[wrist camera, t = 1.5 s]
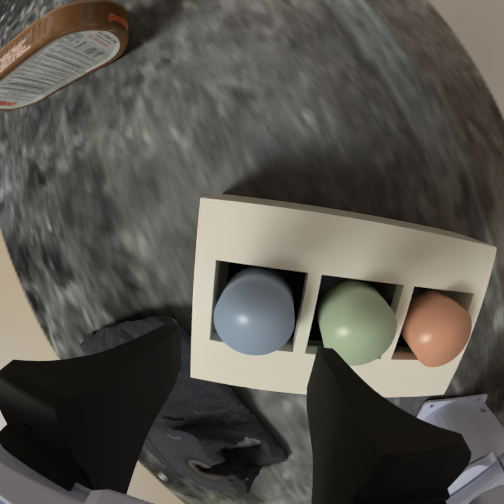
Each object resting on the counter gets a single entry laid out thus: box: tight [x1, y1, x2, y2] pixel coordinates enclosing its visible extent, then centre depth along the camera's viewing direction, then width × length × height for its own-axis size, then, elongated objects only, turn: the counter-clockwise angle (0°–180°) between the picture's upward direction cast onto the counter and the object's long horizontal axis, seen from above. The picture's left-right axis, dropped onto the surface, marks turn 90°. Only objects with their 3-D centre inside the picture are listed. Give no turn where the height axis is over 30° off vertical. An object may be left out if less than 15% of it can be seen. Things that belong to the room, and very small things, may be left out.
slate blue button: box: [214, 267, 295, 355], centre depth 16 cm, size 4×4×3 cm
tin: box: [0, 0, 129, 111], centre depth 15 cm, size 15×3×8 cm, turn 100°
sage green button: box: [317, 280, 397, 366], centre depth 15 cm, size 4×4×3 cm
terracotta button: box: [401, 289, 472, 367], centre depth 15 cm, size 4×4×3 cm
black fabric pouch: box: [80, 316, 287, 494], centre depth 23 cm, size 15×22×5 cm
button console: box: [190, 194, 497, 397], centre depth 18 cm, size 18×11×6 cm, turn 83°
